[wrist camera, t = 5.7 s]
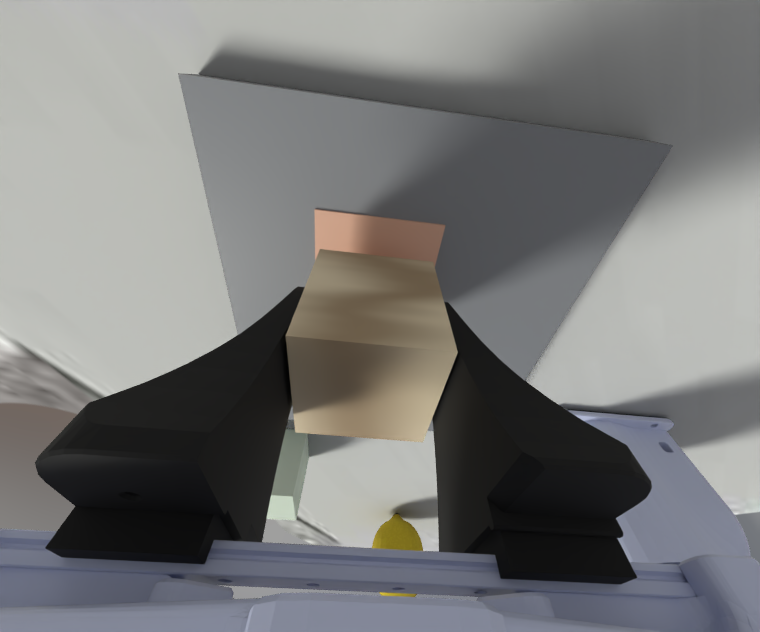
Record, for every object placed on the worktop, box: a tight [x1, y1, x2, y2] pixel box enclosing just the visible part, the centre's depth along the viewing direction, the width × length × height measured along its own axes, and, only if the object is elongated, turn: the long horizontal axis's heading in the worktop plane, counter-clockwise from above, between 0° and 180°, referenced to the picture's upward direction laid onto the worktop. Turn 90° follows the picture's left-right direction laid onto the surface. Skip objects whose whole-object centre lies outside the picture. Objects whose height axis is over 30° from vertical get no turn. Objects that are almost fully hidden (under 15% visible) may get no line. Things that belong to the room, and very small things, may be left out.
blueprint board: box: [178, 73, 672, 431], centre depth 16 cm, size 17×19×1 cm
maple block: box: [286, 249, 458, 442], centre depth 11 cm, size 4×4×5 cm
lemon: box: [372, 514, 423, 597], centre depth 32 cm, size 6×6×8 cm
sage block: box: [266, 429, 309, 520], centre depth 24 cm, size 4×4×5 cm
